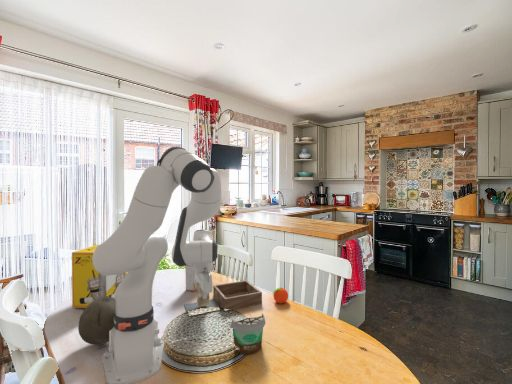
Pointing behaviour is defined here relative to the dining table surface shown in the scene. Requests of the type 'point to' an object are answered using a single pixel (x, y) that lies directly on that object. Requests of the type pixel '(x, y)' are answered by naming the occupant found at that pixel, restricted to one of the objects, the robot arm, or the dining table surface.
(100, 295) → the packaging box
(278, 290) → the tomato
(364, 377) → the dining table surface
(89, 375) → the dining table surface
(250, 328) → the food container
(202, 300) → the beech block
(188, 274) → the cracker box
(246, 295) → the box frame
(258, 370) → the dining table surface
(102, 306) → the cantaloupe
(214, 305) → the slate mat
